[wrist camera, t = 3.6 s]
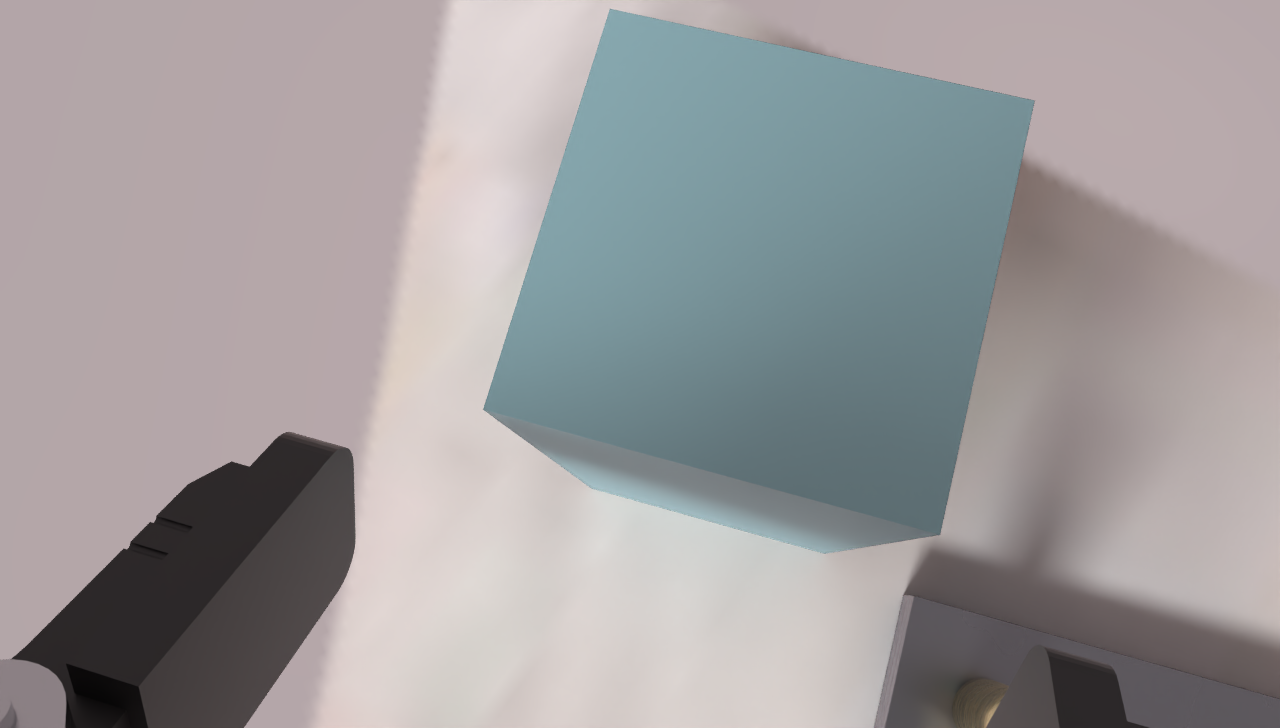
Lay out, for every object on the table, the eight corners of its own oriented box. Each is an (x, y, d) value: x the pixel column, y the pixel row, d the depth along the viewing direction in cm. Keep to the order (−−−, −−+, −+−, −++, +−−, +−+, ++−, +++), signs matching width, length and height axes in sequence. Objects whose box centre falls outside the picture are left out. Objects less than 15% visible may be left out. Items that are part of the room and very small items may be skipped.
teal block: (879, 324, 21) (1035, 101, 11) (824, 554, 20) (940, 534, 10) (654, 268, 21) (609, 9, 11) (591, 487, 20) (483, 409, 10)
